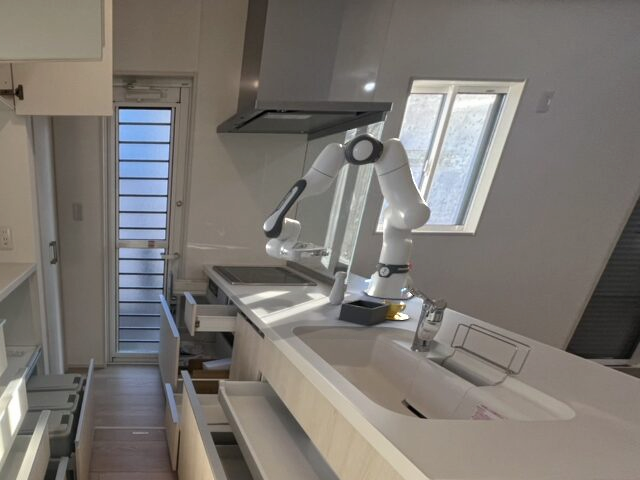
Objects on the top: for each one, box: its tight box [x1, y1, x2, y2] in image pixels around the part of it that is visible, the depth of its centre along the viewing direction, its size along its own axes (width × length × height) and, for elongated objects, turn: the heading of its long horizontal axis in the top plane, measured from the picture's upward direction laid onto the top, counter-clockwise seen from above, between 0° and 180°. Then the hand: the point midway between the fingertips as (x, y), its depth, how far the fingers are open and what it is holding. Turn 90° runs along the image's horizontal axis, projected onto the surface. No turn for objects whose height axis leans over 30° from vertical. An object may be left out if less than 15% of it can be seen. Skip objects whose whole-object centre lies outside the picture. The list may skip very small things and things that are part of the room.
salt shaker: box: [328, 271, 348, 306], centre depth 169 cm, size 6×6×13 cm
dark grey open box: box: [338, 298, 389, 327], centre depth 148 cm, size 11×11×6 cm
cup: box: [381, 299, 410, 321], centre depth 151 cm, size 12×12×5 cm
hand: (319, 254), depth 174 cm, fingers open, 8 cm apart
